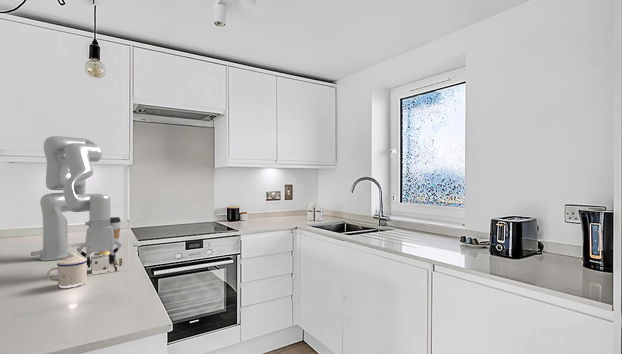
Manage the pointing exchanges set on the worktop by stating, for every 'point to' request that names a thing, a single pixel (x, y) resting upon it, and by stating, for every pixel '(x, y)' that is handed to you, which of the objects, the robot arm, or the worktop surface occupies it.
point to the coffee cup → (115, 227)
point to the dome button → (103, 252)
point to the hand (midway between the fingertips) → (99, 265)
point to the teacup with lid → (70, 270)
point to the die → (99, 262)
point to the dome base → (98, 255)
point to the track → (119, 261)
